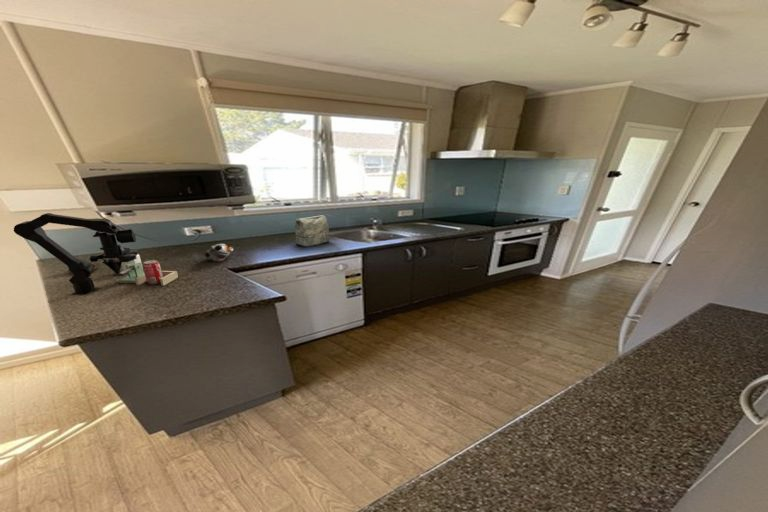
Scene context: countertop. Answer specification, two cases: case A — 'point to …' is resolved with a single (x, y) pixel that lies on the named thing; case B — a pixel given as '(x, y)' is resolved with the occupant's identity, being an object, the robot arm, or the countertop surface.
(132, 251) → the jar
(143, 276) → the tray
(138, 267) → the coffee maker
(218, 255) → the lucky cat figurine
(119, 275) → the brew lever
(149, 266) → the soda can
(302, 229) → the lunch bag
